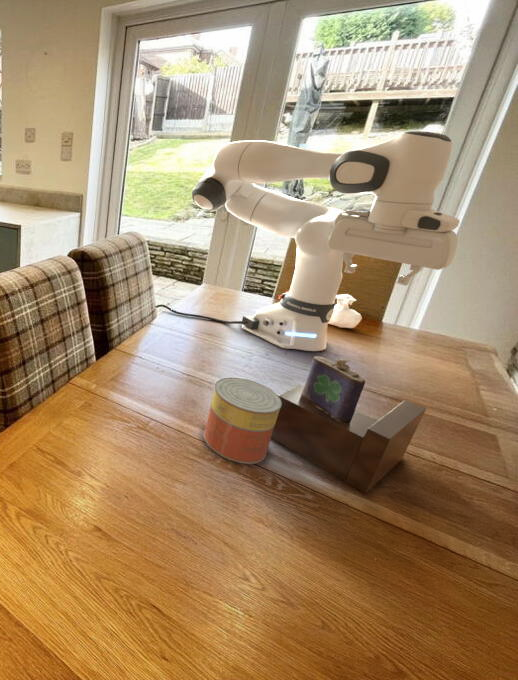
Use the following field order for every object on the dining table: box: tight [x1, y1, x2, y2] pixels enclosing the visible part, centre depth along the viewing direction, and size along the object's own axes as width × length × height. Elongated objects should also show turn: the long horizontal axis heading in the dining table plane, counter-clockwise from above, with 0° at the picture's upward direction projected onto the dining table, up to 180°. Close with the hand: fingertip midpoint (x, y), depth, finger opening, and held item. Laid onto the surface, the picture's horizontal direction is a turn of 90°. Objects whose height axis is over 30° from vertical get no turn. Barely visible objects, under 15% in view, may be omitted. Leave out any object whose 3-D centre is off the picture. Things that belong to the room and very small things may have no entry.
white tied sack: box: [328, 293, 363, 329], centre depth 132 cm, size 12×8×11 cm
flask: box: [301, 355, 366, 424], centre depth 73 cm, size 9×3×11 cm, turn 13°
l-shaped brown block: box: [270, 384, 427, 494], centre depth 77 cm, size 17×16×12 cm
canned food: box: [203, 377, 282, 465], centre depth 78 cm, size 11×11×12 cm
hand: (374, 278), depth 87 cm, fingers open, 8 cm apart
